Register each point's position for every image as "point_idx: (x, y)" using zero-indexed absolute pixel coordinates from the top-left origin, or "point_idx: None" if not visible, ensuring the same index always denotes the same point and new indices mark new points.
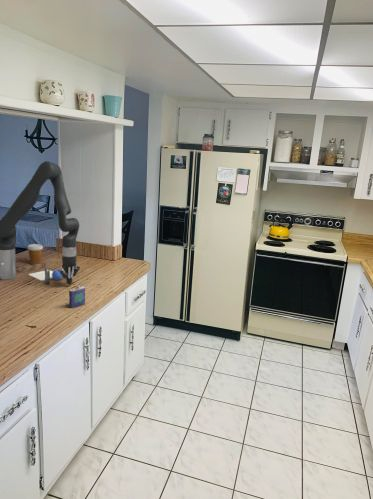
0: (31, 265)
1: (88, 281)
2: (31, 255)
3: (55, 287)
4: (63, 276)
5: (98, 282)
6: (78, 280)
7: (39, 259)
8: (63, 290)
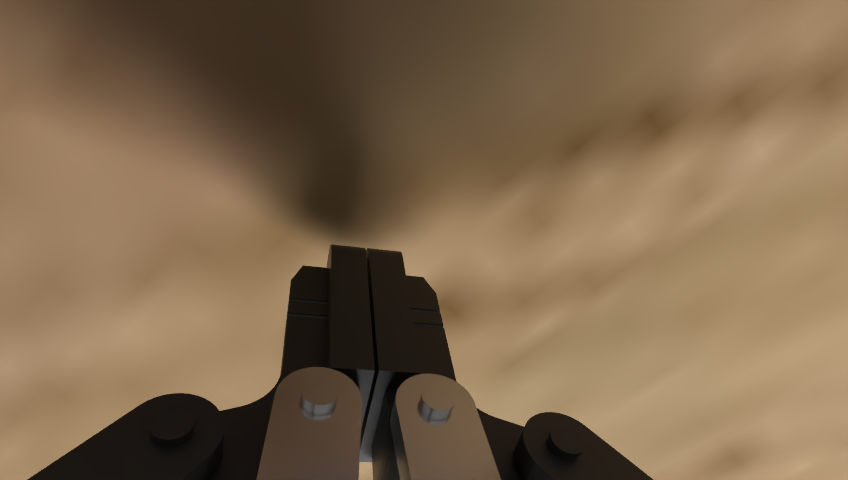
0: None
1: (821, 285)
2: None
3: (32, 38)
4: (125, 447)
5: (819, 409)
6: (824, 99)
7: None
8: (100, 317)
